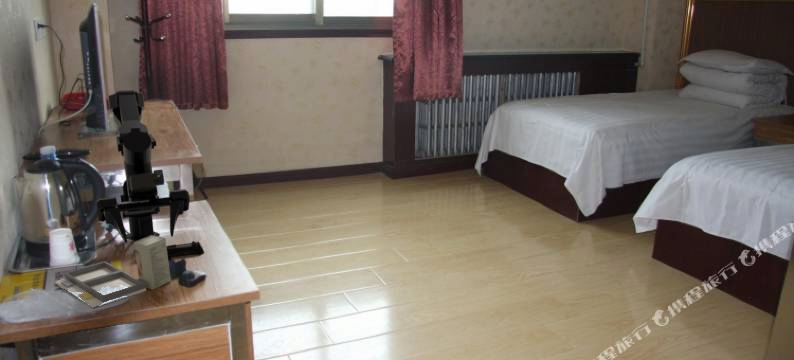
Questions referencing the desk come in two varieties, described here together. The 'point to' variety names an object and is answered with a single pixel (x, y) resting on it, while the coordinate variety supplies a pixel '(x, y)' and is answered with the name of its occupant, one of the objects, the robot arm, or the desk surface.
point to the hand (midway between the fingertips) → (149, 239)
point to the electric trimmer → (184, 249)
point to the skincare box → (152, 261)
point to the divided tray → (100, 283)
